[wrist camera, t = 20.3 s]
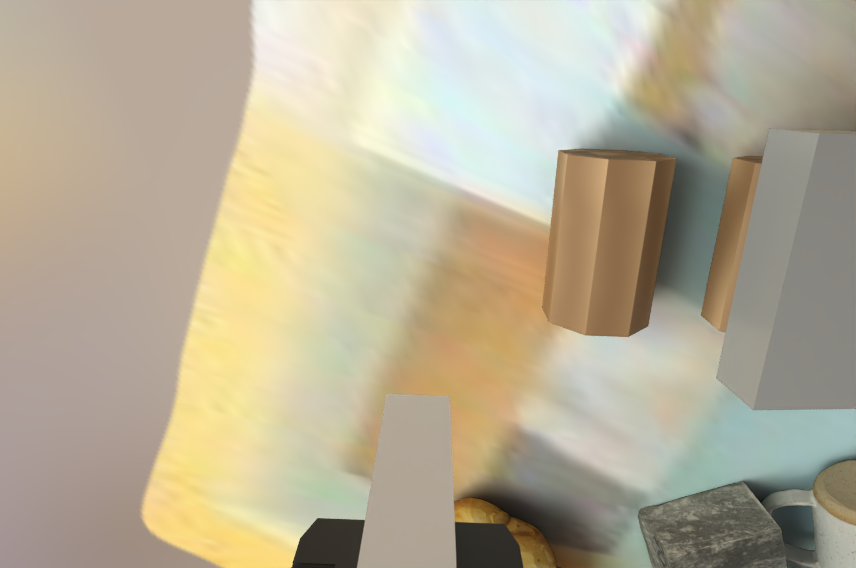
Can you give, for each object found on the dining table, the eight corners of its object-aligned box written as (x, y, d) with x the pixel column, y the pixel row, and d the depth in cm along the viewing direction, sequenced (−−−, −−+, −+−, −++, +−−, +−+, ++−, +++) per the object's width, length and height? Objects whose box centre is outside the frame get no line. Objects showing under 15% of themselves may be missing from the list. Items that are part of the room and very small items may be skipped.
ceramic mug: (889, 440, 41) (983, 515, 34) (898, 526, 44) (987, 613, 37) (741, 476, 43) (801, 555, 36) (758, 558, 45) (817, 647, 38)
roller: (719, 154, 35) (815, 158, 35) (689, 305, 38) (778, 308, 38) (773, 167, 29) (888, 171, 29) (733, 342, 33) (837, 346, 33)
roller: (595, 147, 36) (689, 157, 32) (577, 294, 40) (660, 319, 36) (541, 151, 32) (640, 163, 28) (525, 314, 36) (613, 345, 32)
